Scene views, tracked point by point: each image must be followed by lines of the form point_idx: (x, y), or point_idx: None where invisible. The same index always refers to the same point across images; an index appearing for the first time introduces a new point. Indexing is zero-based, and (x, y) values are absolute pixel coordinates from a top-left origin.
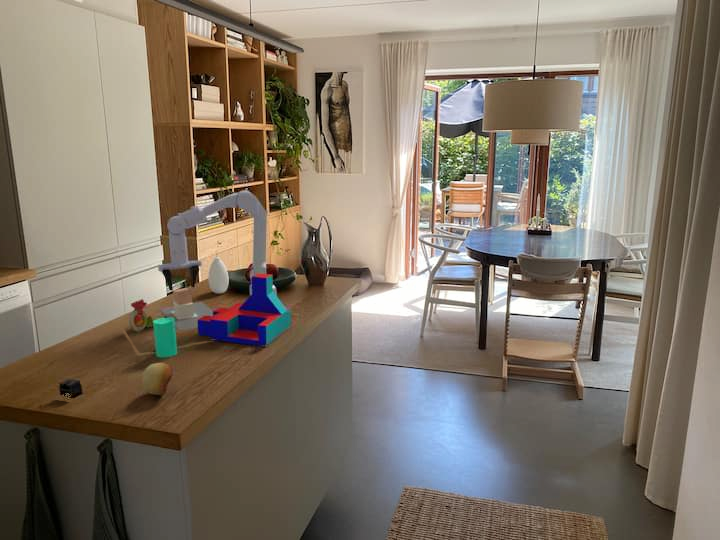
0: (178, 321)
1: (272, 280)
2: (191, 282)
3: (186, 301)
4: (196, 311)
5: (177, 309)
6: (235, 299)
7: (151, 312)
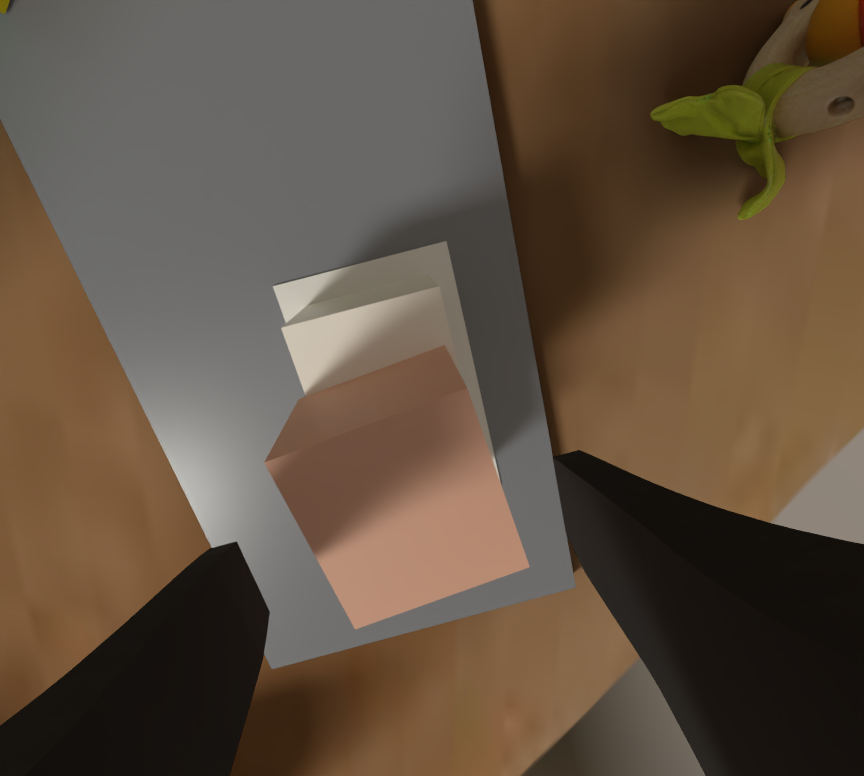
0: (447, 185)
1: None
2: (233, 647)
3: (361, 382)
4: None
5: None
6: (20, 698)
7: None
